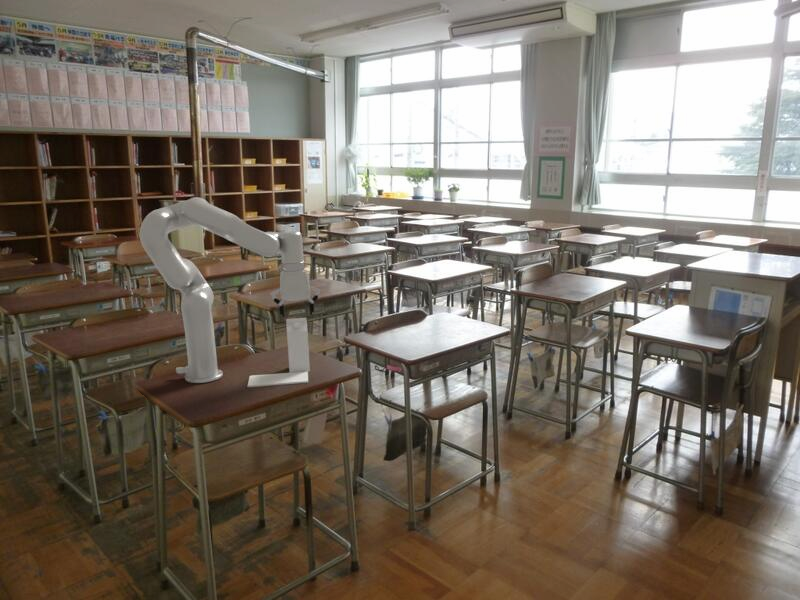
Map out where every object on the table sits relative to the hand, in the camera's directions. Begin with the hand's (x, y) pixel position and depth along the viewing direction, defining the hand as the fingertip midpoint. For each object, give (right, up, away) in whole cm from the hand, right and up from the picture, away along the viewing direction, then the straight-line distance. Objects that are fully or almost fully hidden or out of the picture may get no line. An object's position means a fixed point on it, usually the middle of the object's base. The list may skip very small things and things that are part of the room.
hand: (297, 315), depth 216 cm
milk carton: (0, -20, +4) cm, 20 cm away
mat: (-5, -22, -6) cm, 24 cm away
